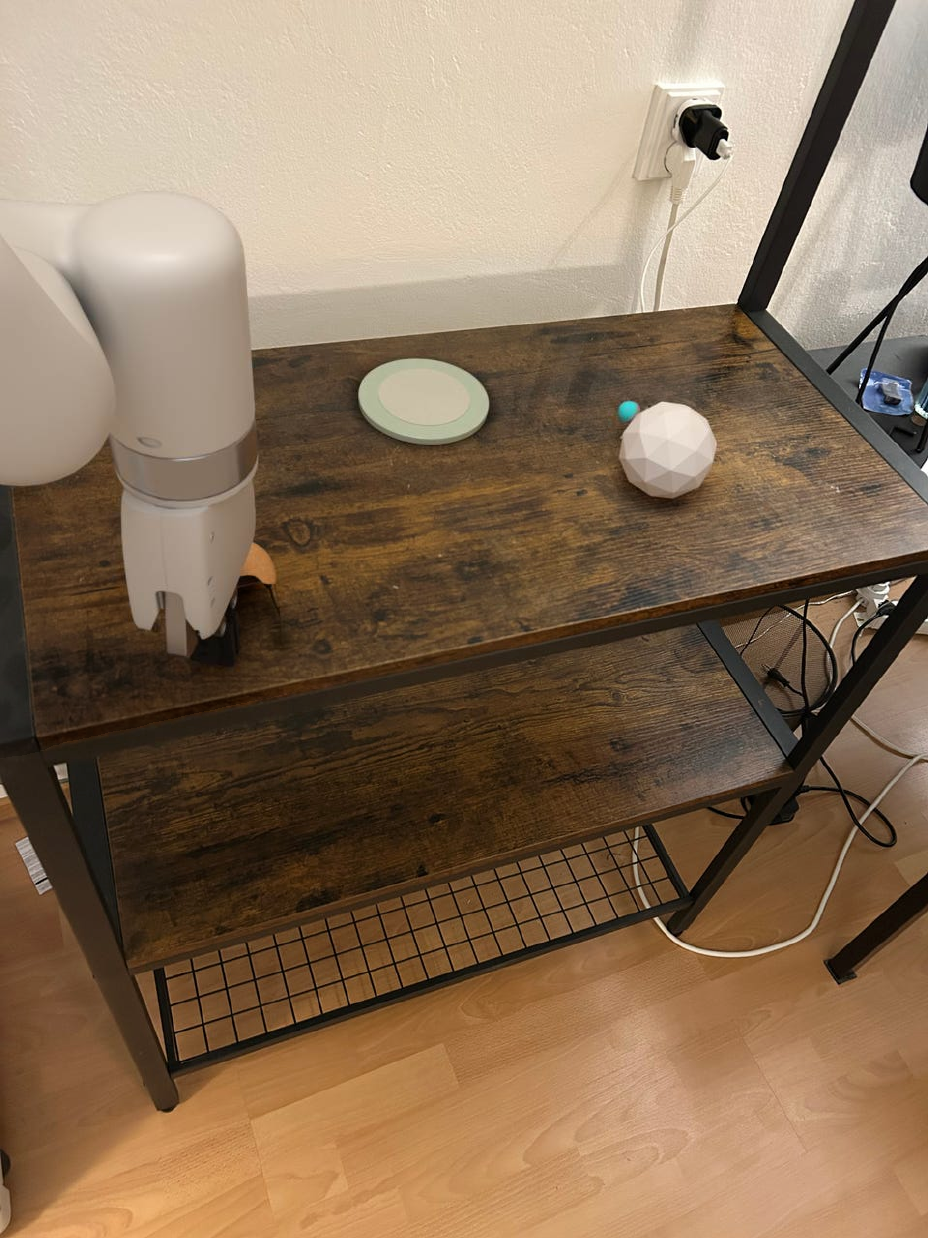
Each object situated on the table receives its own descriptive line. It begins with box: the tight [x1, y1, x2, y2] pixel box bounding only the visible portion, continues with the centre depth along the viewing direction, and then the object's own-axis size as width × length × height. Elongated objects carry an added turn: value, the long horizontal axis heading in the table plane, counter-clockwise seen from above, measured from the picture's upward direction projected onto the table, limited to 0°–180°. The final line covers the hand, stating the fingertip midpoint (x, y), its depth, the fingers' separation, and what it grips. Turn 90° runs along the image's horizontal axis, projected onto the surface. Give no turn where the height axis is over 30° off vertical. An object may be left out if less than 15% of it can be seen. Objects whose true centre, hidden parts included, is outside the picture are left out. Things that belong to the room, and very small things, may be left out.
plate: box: [357, 357, 490, 446], centre depth 89 cm, size 12×12×1 cm
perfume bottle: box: [617, 400, 718, 499], centre depth 83 cm, size 8×8×12 cm
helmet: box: [237, 541, 284, 643], centre depth 69 cm, size 6×7×8 cm
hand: (214, 654), depth 65 cm, fingers closed
